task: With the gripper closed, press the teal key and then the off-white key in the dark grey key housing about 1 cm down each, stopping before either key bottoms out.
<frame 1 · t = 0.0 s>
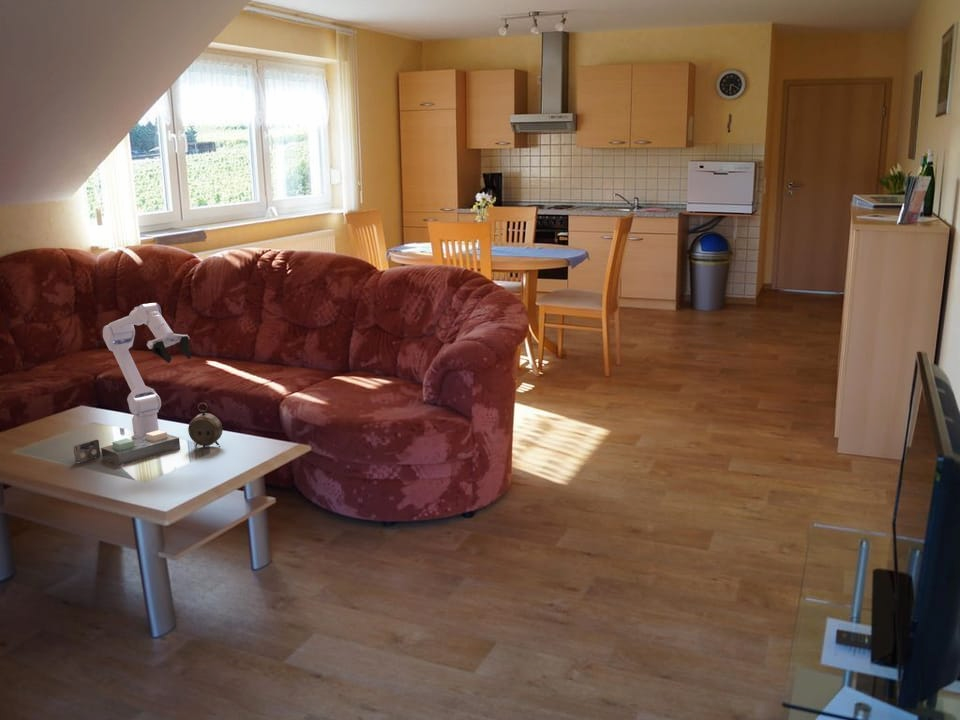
hand: (180, 359, 292), 32 cm above the table, tool tilted 50°, fingers open, 7 cm apart
alarm clock: (206, 448, 301), on the table
teal key: (123, 447, 292), point 4 cm above the table, slide at 0.0 cm
white key: (156, 438, 300), point 4 cm above the table, slide at 0.0 cm
mini dv tape: (88, 460, 293), on the table
key housing: (141, 453, 297), on the table
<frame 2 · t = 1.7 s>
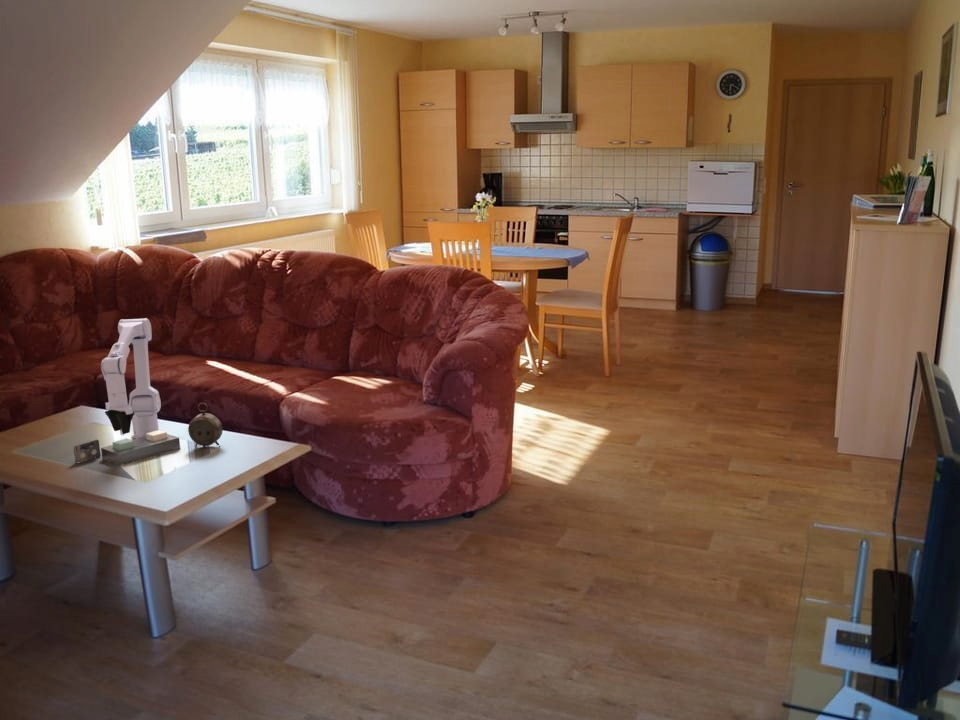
hand: (121, 431, 290), 9 cm above the table, tool pointing down, fingers open, 5 cm apart
nothing on the table moved.
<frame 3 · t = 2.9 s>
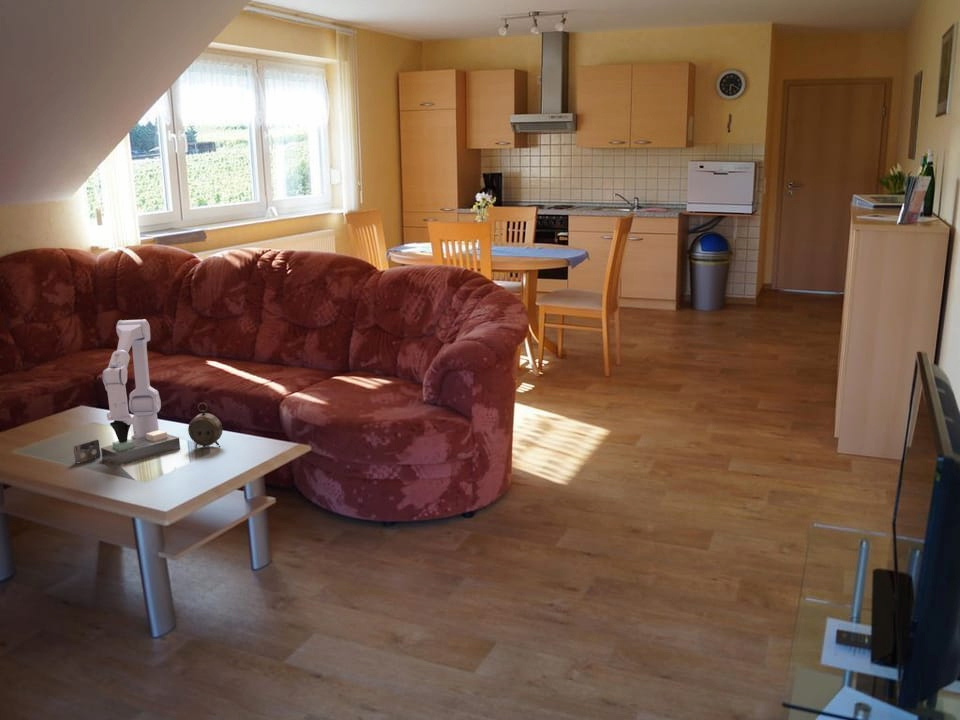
hand: (123, 442, 291), 6 cm above the table, tool pointing down, fingers closed, pressing on teal key
teal key: (123, 447, 292), point 4 cm above the table, slide at 0.1 cm, touching gripper
everything else where it was.
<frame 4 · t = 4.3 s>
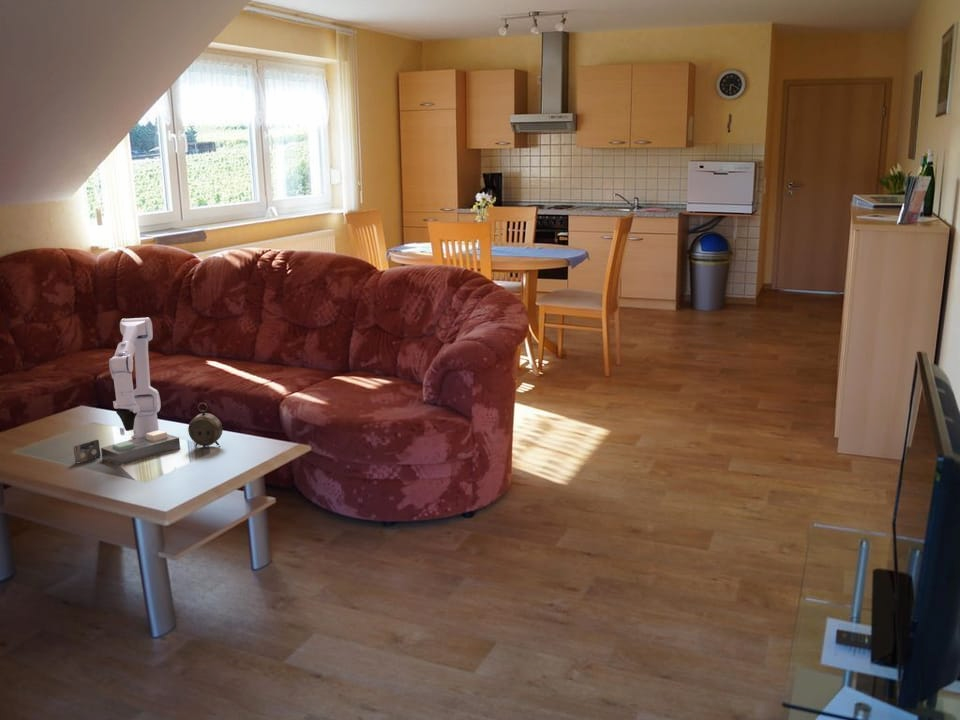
hand: (129, 430, 293), 9 cm above the table, tool pointing down, fingers closed
teal key: (124, 449, 292), point 3 cm above the table, slide at 0.9 cm
everything else where it was.
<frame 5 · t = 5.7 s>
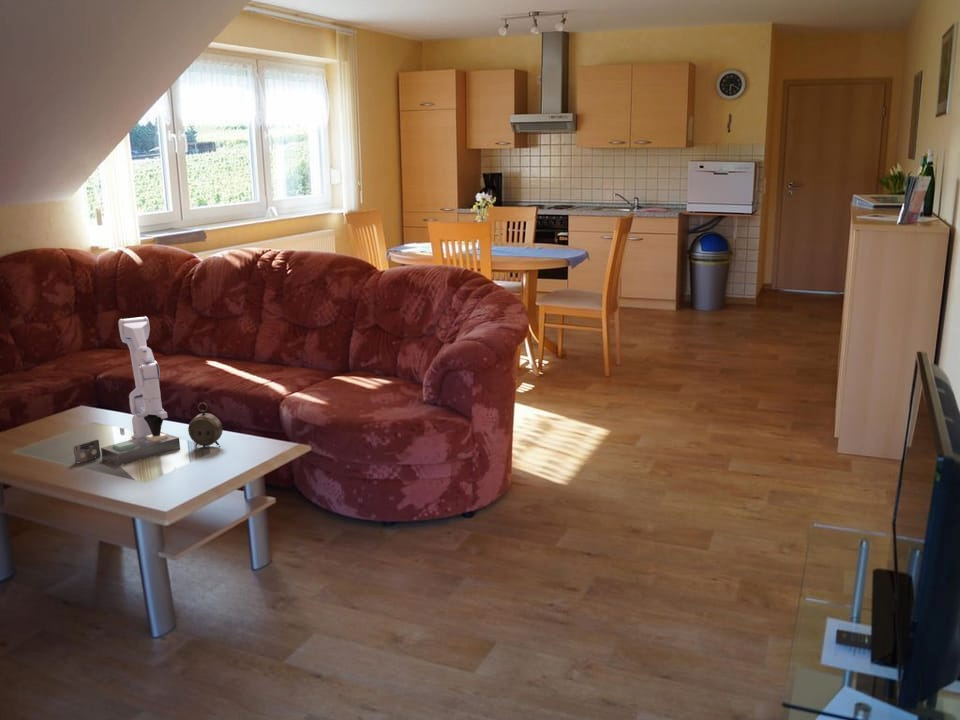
hand: (156, 435, 300), 5 cm above the table, tool pointing down, fingers closed, pressing on white key
white key: (157, 440, 301), point 3 cm above the table, slide at 0.9 cm, touching gripper
everything else where it was.
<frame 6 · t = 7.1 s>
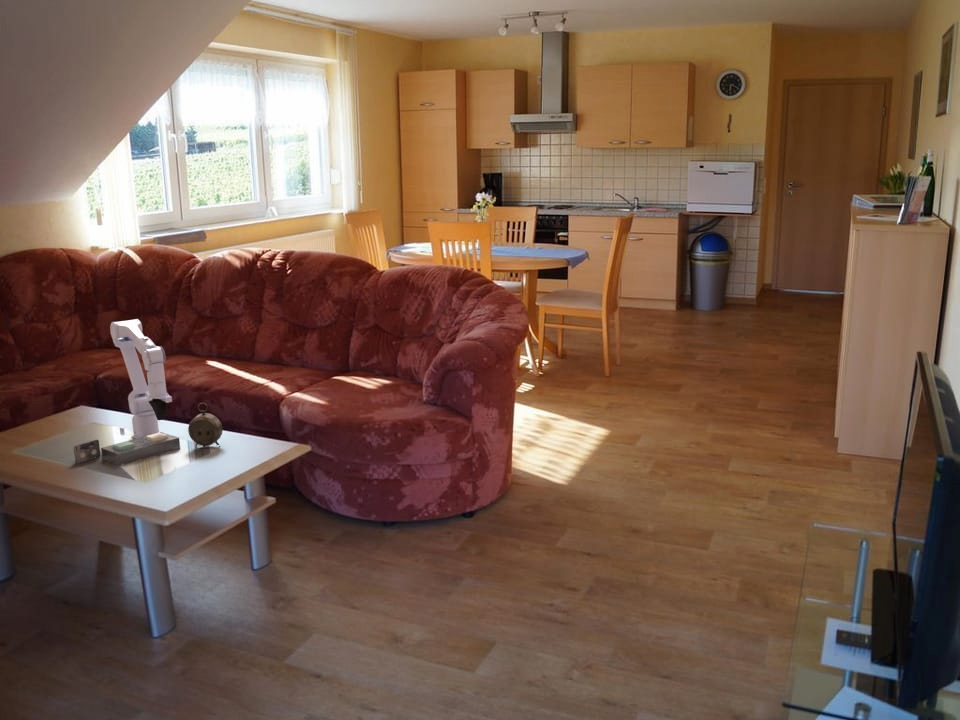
hand: (161, 419, 304), 9 cm above the table, tool pointing down, fingers closed
white key: (157, 440, 301), point 3 cm above the table, slide at 0.9 cm
everything else where it was.
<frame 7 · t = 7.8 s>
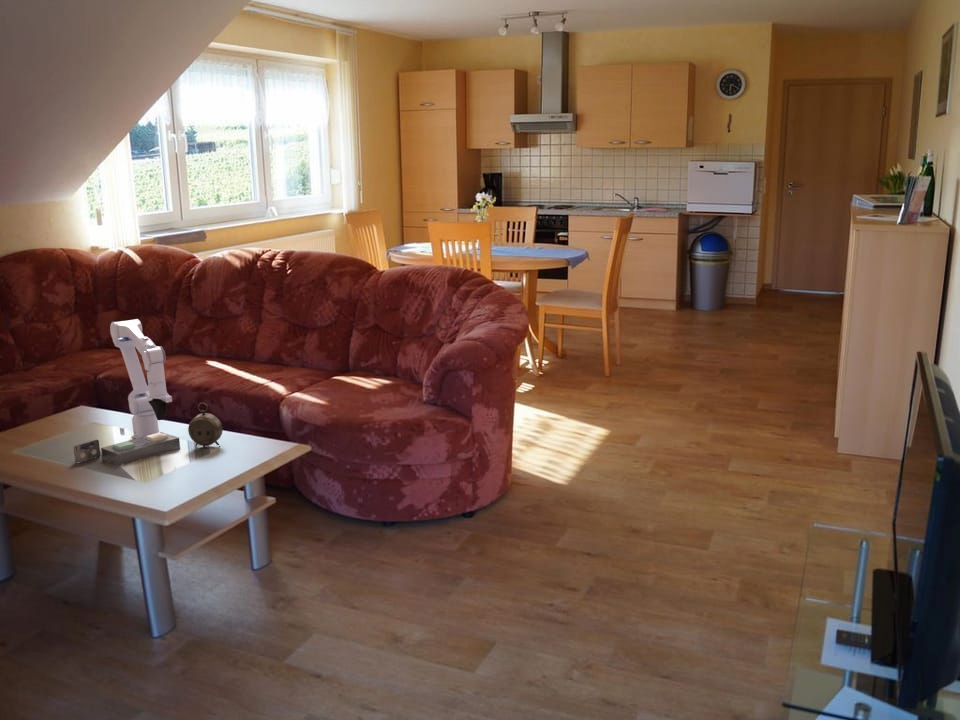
hand: (161, 419, 304), 9 cm above the table, tool pointing down, fingers closed
nothing on the table moved.
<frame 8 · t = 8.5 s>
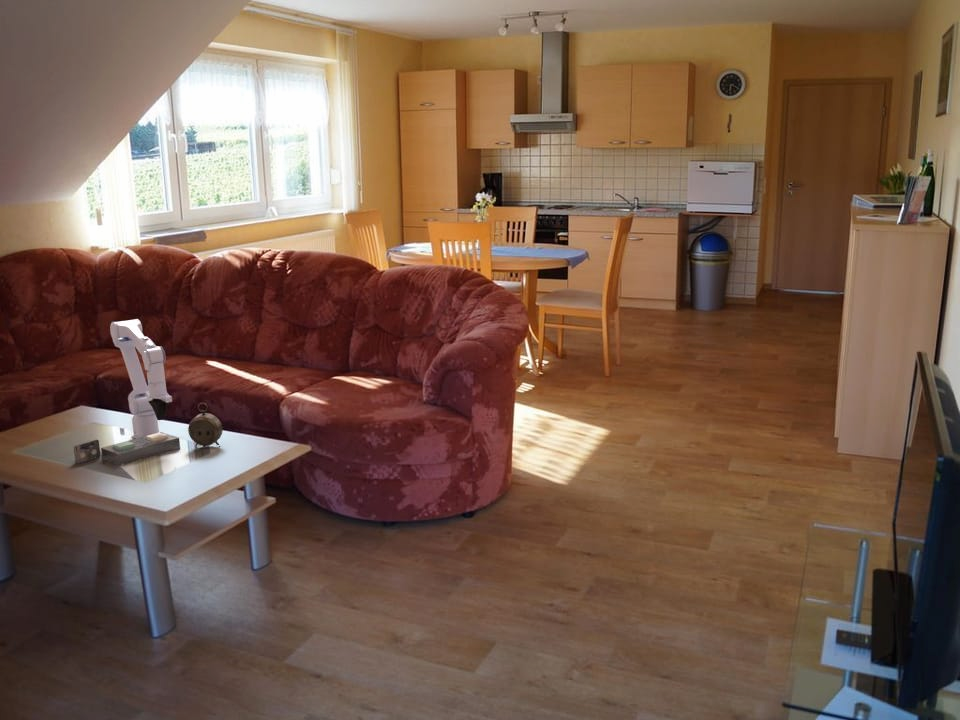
hand: (161, 419, 304), 9 cm above the table, tool pointing down, fingers closed
nothing on the table moved.
at the end: teal key slide at 0.9 cm; white key slide at 0.9 cm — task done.
